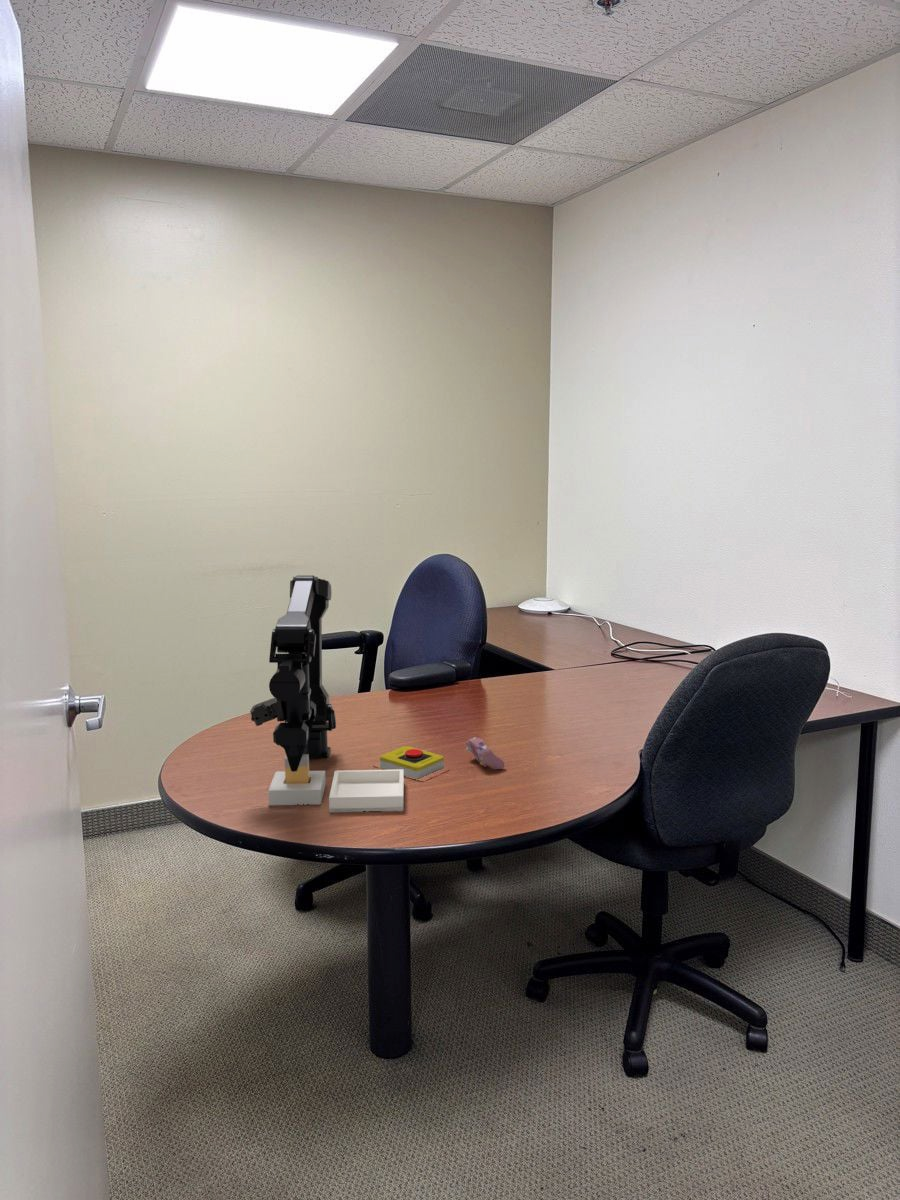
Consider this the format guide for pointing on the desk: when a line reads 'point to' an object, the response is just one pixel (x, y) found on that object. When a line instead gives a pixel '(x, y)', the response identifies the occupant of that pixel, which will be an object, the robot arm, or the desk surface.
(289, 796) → the white slotted block
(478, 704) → the desk surface
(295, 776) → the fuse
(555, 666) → the desk surface
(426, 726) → the desk surface
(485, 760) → the video game controller
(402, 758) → the emergency button
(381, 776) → the parts tray
